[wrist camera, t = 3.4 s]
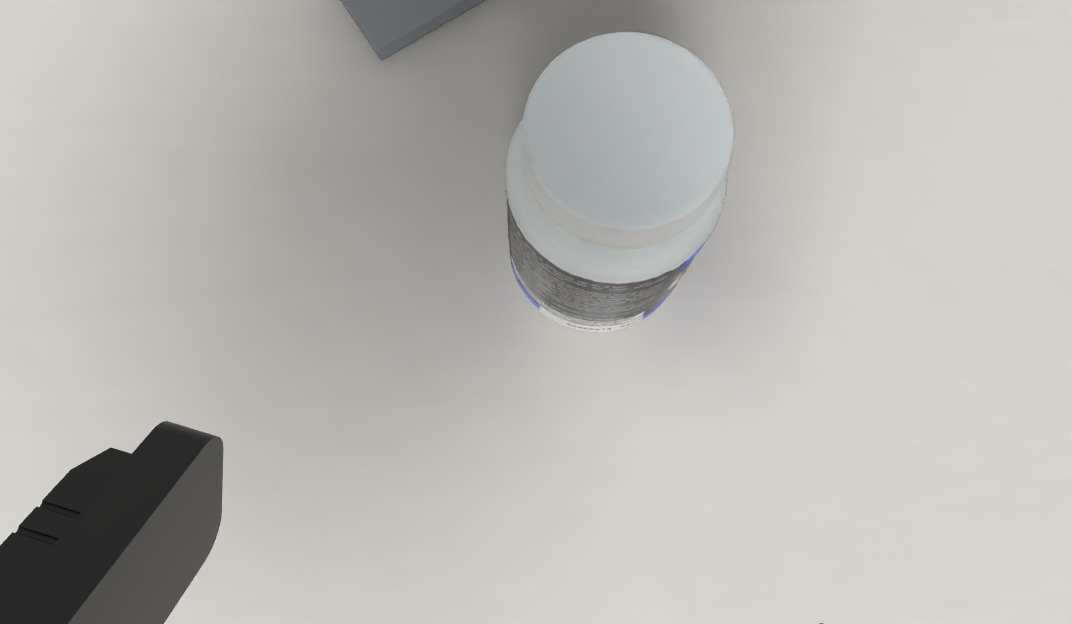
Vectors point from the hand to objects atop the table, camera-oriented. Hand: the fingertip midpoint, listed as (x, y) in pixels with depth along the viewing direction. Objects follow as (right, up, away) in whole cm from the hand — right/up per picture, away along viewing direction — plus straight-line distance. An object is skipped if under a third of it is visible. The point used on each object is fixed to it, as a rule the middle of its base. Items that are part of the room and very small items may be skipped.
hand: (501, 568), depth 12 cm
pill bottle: (+2, +5, +13) cm, 14 cm away
